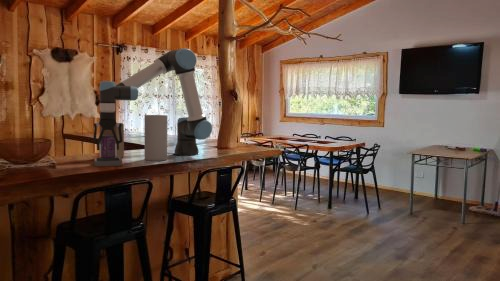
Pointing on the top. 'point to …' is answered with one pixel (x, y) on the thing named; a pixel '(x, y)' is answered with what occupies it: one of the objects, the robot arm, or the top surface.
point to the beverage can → (107, 146)
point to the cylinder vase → (155, 137)
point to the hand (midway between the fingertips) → (108, 156)
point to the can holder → (108, 162)
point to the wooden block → (121, 145)
